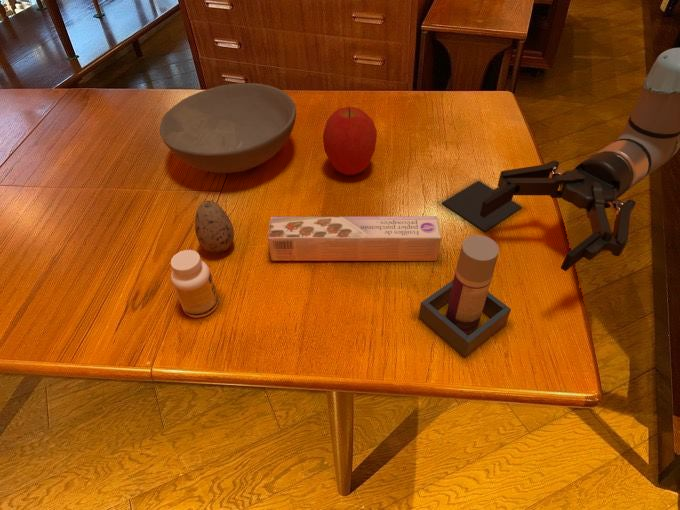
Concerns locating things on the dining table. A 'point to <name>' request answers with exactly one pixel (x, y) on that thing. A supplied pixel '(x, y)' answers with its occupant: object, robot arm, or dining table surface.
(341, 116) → the apple
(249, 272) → the dining table surface
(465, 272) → the container
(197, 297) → the supplement bottle
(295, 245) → the box
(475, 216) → the coaster
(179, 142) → the bowl
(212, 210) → the decorative egg
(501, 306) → the open box
